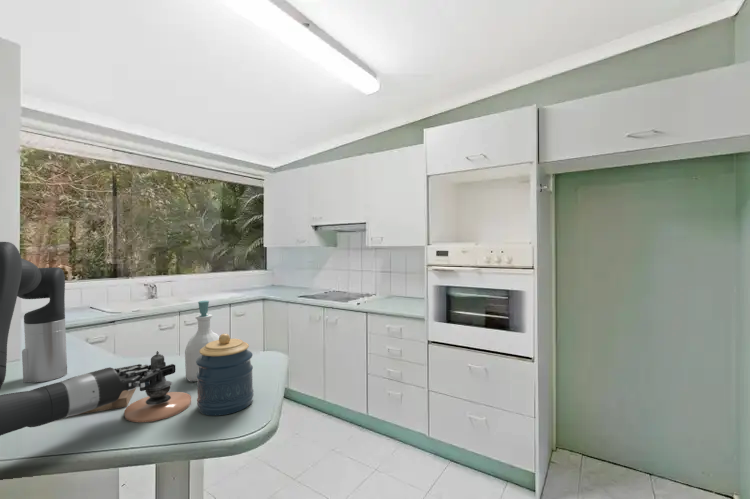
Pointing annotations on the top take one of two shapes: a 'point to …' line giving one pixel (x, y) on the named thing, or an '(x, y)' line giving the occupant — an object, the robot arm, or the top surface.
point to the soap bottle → (198, 341)
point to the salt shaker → (161, 389)
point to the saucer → (157, 408)
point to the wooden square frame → (121, 402)
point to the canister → (224, 377)
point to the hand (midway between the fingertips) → (169, 366)
